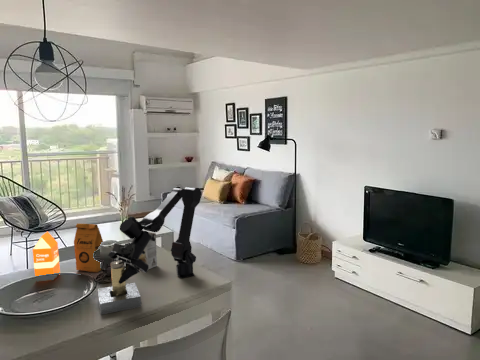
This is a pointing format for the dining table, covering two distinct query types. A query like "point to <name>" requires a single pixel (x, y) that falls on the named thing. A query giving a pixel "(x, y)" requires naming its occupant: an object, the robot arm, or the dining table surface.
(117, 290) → the brass plug
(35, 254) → the orange juice
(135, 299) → the bore housing
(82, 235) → the coffee package
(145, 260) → the coffee box
